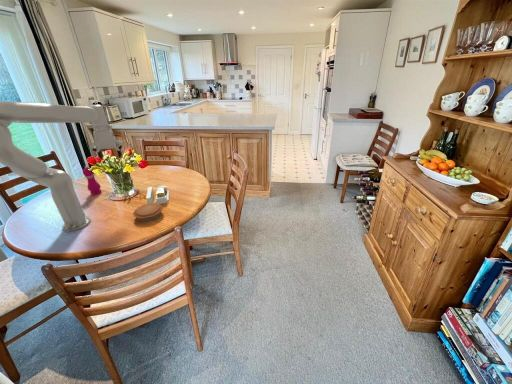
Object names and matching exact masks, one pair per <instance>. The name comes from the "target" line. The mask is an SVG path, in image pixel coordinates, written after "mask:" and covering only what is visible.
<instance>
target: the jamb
mask: <svg viewBox="0 0 512 384" xmlns="http://www.w3.org/2000/svg"><path fill="white" fill-rule="evenodd" d="M163 186H164V188H165V192H166V196H162V197H157V194H156V193H155V192H154V190H153V186H148V187H147V192H146V197H145V200H146V204H150V203H154V201H155V203H156V204H160V205H164V204H168V202H169V201H170V191H169V190H168V187H167V186H166V185H163ZM154 193H155V194H154ZM154 195H155V200H154Z"/></svg>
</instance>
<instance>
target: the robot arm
mask: <svg viewBox="0 0 512 384" xmlns="http://www.w3.org/2000/svg"><path fill="white" fill-rule="evenodd" d="M13 123H15V124H18V123H19V124H62V123H63V124H64V123H67V124H68V123H70V124H71V123H74V124H75V123H77V124H78V123H79V124H81V123H83V124H85V123H86V124H87V123H89V124H90V123H91V126H92V128H93V139H94V142H93V143H90V145H89V148H90V149H91V150H92V151H93V152H95V153H96V154H97V156H98V158H99V159H100V160H103V158H104V156H103V154H102V151H101V150H110V149H115V150H116V152H117V153H116V154H117V156H118V158H121V156H122V154H123V153H122V151H121V149H122V148H123V146H124V141H121V140H118V139H116V136H115V133H114V132H113V130H112V128H113V126H112V125H109V123H108V119H107V116H106V113H105V110H104V107H103V105H101V104H90V105H85V106H84V105H83V106H81V105H80V106H74V105H73V106H72V105H62V104H55V103H45V102H44V103H42V102H25V101H8V100H7V101H6V100H5V101H3V100H2V101H0V164H1V165H4V166H6V167H7V168H9V170H10V171H11V172H12V173H14V174H16V175H17V176H20V177H22V178H24V179H26V180H29V181H31V182H33V183H35V184H37V185H40V186H43V187H47V188H49V190H50V193H51V194H50V195H51V197H52V201H53V202H54V205H55V206H56V208H57V211H58V213H59V214H60V217H61V219H62V221H63V225H62V229H63V231H64V232H65V233H68V232H73V231H77V230H80V229H83V228H85V227H86V226H88V225H89V224H90V223H91V221H92V219H91V217H90V216H86V214H85V211H84V209H83V207H82V205H81V202H80V200H79V198H78V195H77V192H76V191H75V188H74V183H73V179H72V177H71V175H70V174H69V173H67V172H66V171H64V170H61V169H57V168H52V167H49V166H47V164H46V163H45V162H44V161H43V160H42V159H39V158H37V157H35V156H33V155H32V154H29V153H27V152H26V151H24V150H23V149H20V148H19V147H17V146H16V145H15V144H14V142H13V140H12V132H11V130H10V128H9V126H10V125H12V124H13ZM119 144H120V145H119ZM118 145H119V146H118ZM95 147H96V148H95Z"/></svg>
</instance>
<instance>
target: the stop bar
mask: <svg viewBox="0 0 512 384" xmlns="http://www.w3.org/2000/svg"><path fill="white" fill-rule="evenodd" d="M164 186H165V185H160V186H157V187H156V193H155V195H156V194H157V197H162V196H166V192H165V188H164Z"/></svg>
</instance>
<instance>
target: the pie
mask: <svg viewBox="0 0 512 384" xmlns="http://www.w3.org/2000/svg"><path fill="white" fill-rule="evenodd" d="M163 208H164V207H163V204H157V203H156V202H155V203H154V202H153V203H150V204H148V203H145V204H143V205H141V206H139V207H137V208H136V209H134V211H133V213H132V214H133V217H135V218H137V219H139V220H140V221H143V222H150V221H153V220H156V219H158V217H160V215H161V213H162V211H163Z"/></svg>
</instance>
